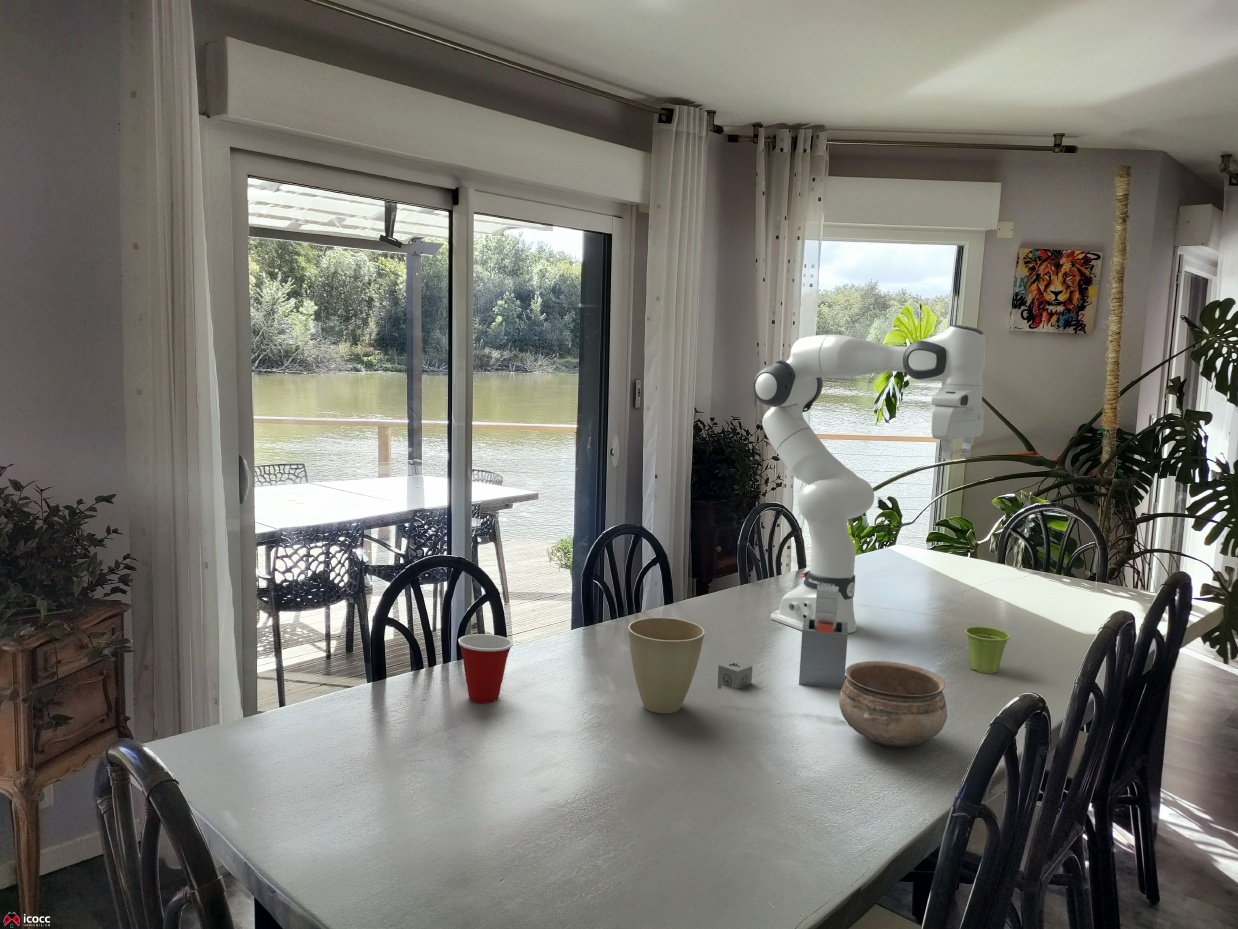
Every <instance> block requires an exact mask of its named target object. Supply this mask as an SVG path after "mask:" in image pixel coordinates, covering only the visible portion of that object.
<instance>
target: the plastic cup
mask: <svg viewBox="0 0 1238 929" xmlns="http://www.w3.org/2000/svg"><path fill="white" fill-rule="evenodd" d="M457 640H458V645H459V646H460V651H461V656H462V661H463V667H464V668H463V669H464V676H465V684H466V686H467V693H468V694H467V695H468V697H469V701H471V702H474V703H476V704H490V703H494V702H496V701H497V700H498V699H499V696H500V693H501V688H502V683H503V679H504V674H505V669H506V664H507V660H508V657H509V653H510V650H511V648H512V646H513V645H514V642H513V640H512V639H509V638H508V637H505V636H501V635H494V634H487V633H485V634H483V633H482V634H479V633H477V634H476V633H475V634H468V635H463V636H461V637H459V638H458V639H457Z"/></svg>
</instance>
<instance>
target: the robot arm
mask: <svg viewBox="0 0 1238 929" xmlns="http://www.w3.org/2000/svg"><path fill="white" fill-rule="evenodd" d="M985 337H986V336H985V333H984V332H983V331H982V330H981V329H979V328H976V327H971V326H967V325H962V324H961V325H960V324H954V325H951V326H948V327H947V329H945V330H944V331H941V332H940V333H938V334H936V335H932V336H931V337H926V338H924V339H920V340H916V341H913V342H911V343H910V344H908V346H899V345H898V346H897V345H896V346H895V345H888V344H884V343H878V342H874V341H870V340H867V339H864V338H859V337H854V336H851V335H843V334H817V335H815V334H814V335H809V336H808V335H807V336H806V337H805V336H804V337H801V338H799V339H797V340H796V341H795V342H794V343H793V345H792V346H791V350H790V354H789V359H788V360H783V359H779V360H777V361H775V362H773V363H772V364H770V365H769V366H767V367H765V368H763V369H761V370H760V371H759V372H757V374H756V375H755V377H754V379H753V385H752V389H753V394H754V396H755V398H756V399H757V401H759V402H760V403H761V404H763V405H764V406H768V407H770V408H769V409H768V410H767V411H766V413H765V414H764V415H763V417H762V422H761V423H762V424H761V425H762V429H763V430H764V433H765V434H766V437H767V439H768V441H769V443H770V445H771V447H772V448H773V449H774V450H775V453H777V455H778V456H779V458H780V459H781V460H782V462H783V464H784V465H785V466H786V468H787V469H788V471H789V472H790V473H791V475H792V476H793V477H794V478H795V479H797V480H799V481H801V482H803V483H805V484H806V486H805V487H804V488H803V489H801V491H800V492H799V494H798V497H797V508H798V511H799V512H800V515H801V516H802V517H803V518H804V519H805V521H806V523H807V526H808V530H809V531H808V532H809V535H810V543H811V544H810V545H811V546H810V550H811V552H810V567H809V570H807V571H805V572H802V573H800V575H801V576H800V579H802V578H804V580H803V583H802V584H800V585H798V586H797V587H794V588H793V589H792V590H790V591H789V592H786V593H785V594H784V595H783V597H782V599H781V601H780V605H779V609H777V610H774V611H773V612H772V613H771V614H770V617H769V618H770V620H772V621H773V620H774V621H775V622H778V623H781V624H784V625H787V626H789V627H792V628H794V629H797V630H800V631H802V628H803V622H804V618H812V619H815V611H816V595H817V585H825V586H836V587H839V590H838V606H837V621H841V622H848V634H850V633H853V632H855V631H857V624H856V623H857V622H856V619H855V611H854V597H855V590H856V589H855V588H856V575H855V562H856V550H857V549H856V548H857V547H856V545H855V542H854V541H853V539H852V538H851V537H850V533H849V528H848V520H850V519H856V518H858V517H860V516H862V515H863V514H865V513H866V512H867V511H869V510H870V509H871V508H872V506H873V504H874V501H875V492H874V488H873V486H872V485H871V484H870V483H869V482H868V481H867V480H865V479H864V478H861V477H859V476H858V475H856V474H855V473H853V471H851V470H850V469H849V468H848V467H846V466H845V464H843V463H842V462H841V461H839V459H838V458H837V457H835V456H834V455H833V454H832V452H830V451H829V450H828V448H827V447H826V446H825V444H824V443H823V442H822V441H821V439H820V438H819V437H818V435H817V434H816V432H815V431H814V430H813V428H811V426H810V425H809V424H808V422H807V420H806V419H805V417H804V415H803V414H804V413H806V412H808V411H810V409H811V408H812V406H813V404H814V403H815V401H817V400H818V399H819V397H820V395H821V393H822V391H823V388H824V387H823V386H824V385H823V383H824V382H823V378H824V379H825V378H826V379H848V378H854V377H855V378H856V377H861V376H865V375H866V376H867V375H873V374H879V373H887V372H897V373H899V372H901V373H906V374H907V376H908V377H910V378H912V379H915V380H917V381H921V382H923V381H924V382H941V388H940V389H939V390H938V391H937V392H936V393H935V394H933V395H932V396H931V405H932V406H934V407H932V408H933V409H932V412H931V430H930V431H931V432H930V433H931V435H932V438H933V439H935V440H940V446H941V451H942V456H941V458H942V459H944V460H951V459H953V456H954V451H952V444H953V440H957V439H962V446H961V448H960V450H959V456H960V457H964V458H965V457H967V458H968V457H970V455H971V448H972V447H973V444H974V441H975V438H977V437H981V436H982V435H983V432H984V418H985V417H984V416H985V415H984V414H985V412H984V407H983V405H982V403H983V402H982V401H983V390H984V381H983V372H984V369H985V366H986V353H987V352H986V350H987V347H986V343H987V342H986V338H985Z"/></svg>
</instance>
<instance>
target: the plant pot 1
mask: <svg viewBox="0 0 1238 929" xmlns="http://www.w3.org/2000/svg"><path fill="white" fill-rule="evenodd" d="M627 628H628V629H627V630H628V641H629V650H630V658H631V663H632V669H633V674H634V679H635V682H636V685H637V690H638V692H639V697H640V699H641V702H642V706H643V708H644V709H646V710H647V711H649V712H653V713H656V714H665V715H666V714H673V713H676V712H678V711H680V709H681V708H682V706H683V703H684V701H685V699H686V697H687V695H688V692H689V690H690V686H691V684H692V681H693V679H694V676H695V672H696V669H697V666H698V662H699V659H700V655H701V652H702V646H703V642H704V637H705V629H704V628H703V627H702V626H701V625H699V624H697V623H695V622H692V621H688V620H685V619H680V618H673V617H646V618H640V619H637V620H635V621H632V622H630V623H629V625H628V626H627Z"/></svg>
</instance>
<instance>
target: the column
mask: <svg viewBox="0 0 1238 929" xmlns="http://www.w3.org/2000/svg"><path fill="white" fill-rule="evenodd" d="M838 590H839V587H836V586H825V585H817V595H816V611H815V626H814V630H817V624H818V623H820V624H829V625H833V632H836V621H837V606H838Z"/></svg>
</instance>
